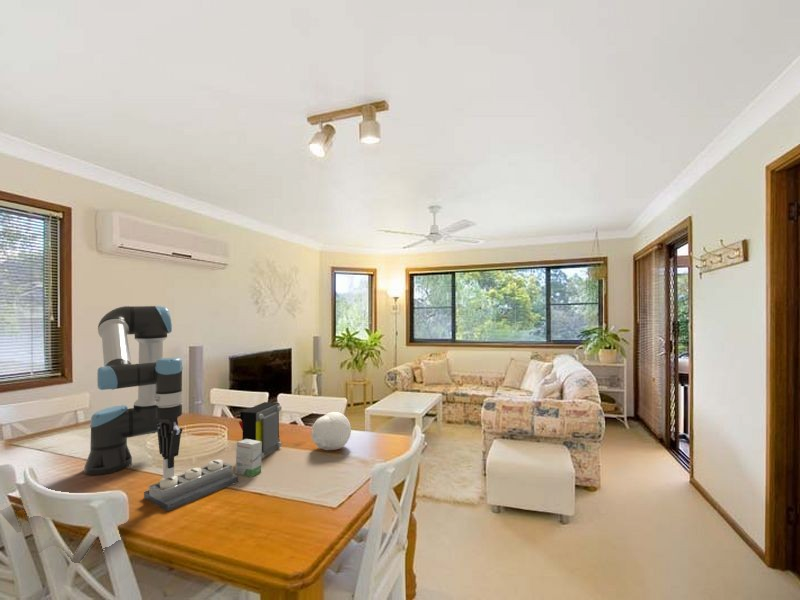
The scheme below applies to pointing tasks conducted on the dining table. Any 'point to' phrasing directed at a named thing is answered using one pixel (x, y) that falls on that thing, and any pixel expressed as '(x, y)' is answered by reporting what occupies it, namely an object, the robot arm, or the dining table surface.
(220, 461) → the knob far
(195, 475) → the knob mid
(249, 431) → the electrical component
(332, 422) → the decorative orb
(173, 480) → the knob near
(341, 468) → the dining table surface
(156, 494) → the mount
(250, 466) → the ink box
